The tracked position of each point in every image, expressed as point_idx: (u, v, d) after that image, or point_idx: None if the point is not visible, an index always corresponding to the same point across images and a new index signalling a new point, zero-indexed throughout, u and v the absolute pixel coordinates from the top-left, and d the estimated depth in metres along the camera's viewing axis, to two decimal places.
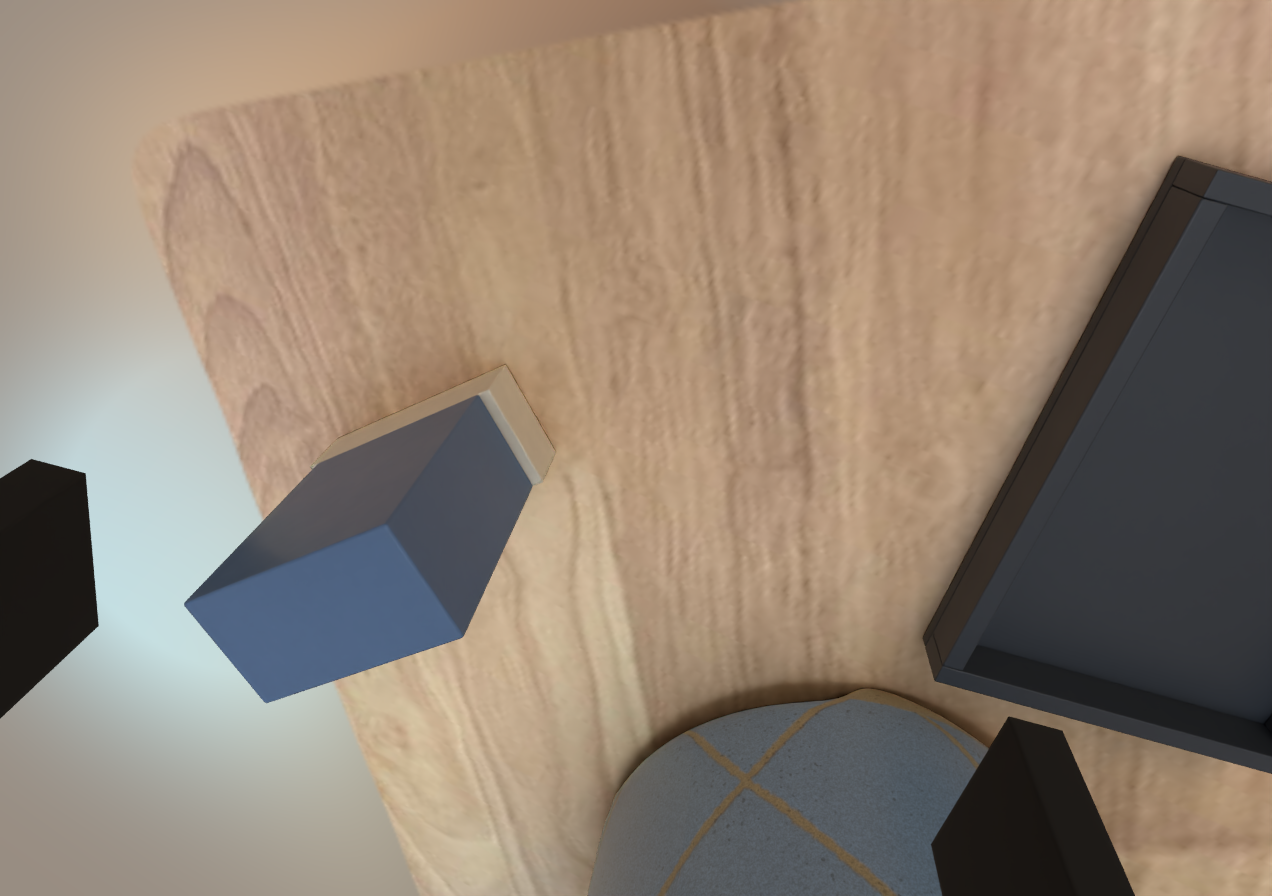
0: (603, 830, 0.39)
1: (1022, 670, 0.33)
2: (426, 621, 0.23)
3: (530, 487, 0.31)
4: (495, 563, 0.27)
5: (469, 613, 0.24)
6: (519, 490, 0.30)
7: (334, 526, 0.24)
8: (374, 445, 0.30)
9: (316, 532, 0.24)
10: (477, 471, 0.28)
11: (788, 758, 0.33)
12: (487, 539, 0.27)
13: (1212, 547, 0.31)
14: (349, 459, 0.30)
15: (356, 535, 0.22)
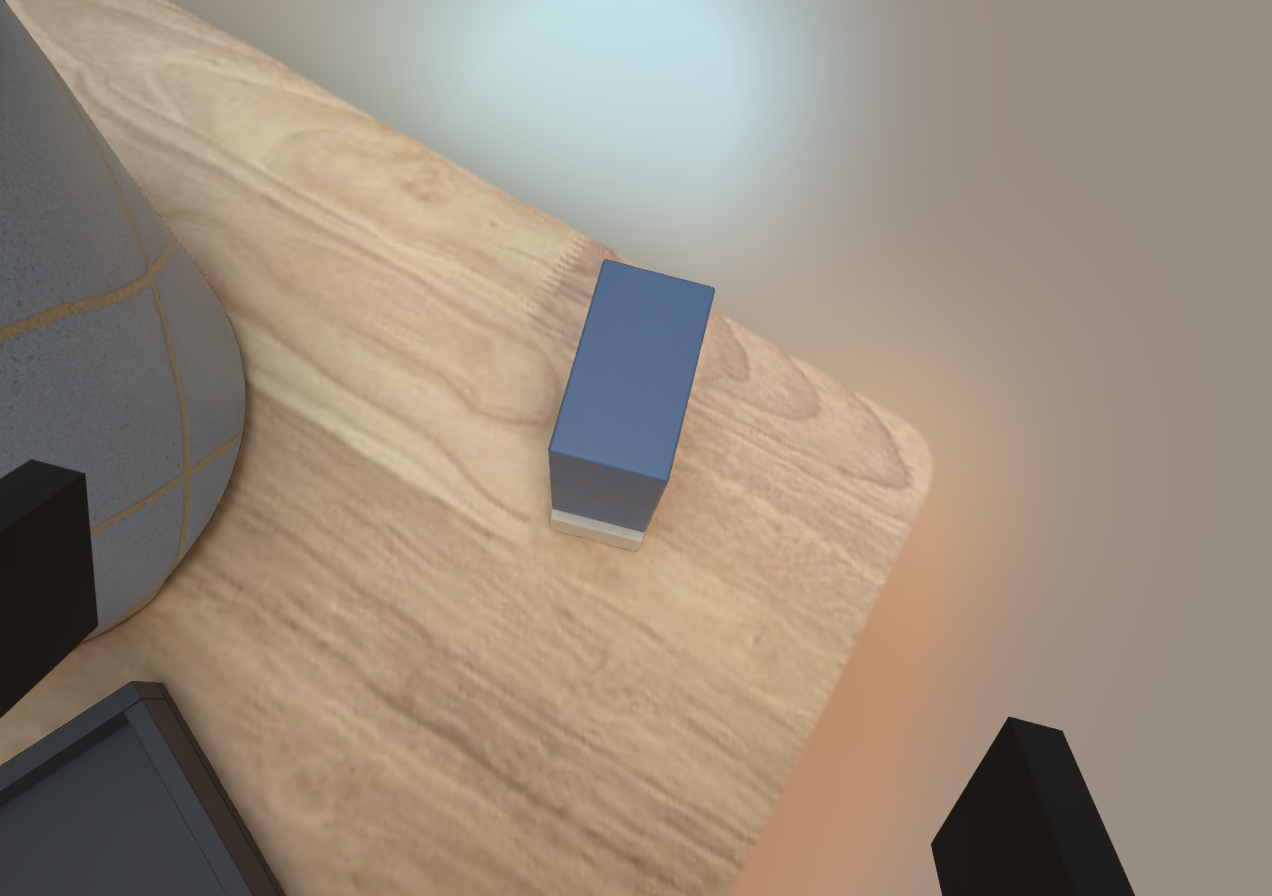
0: (210, 286, 0.37)
1: (69, 755, 0.32)
2: (580, 437, 0.27)
3: (554, 508, 0.35)
4: (552, 478, 0.31)
5: (554, 459, 0.28)
6: (563, 505, 0.34)
7: None
8: None
9: None
10: (610, 507, 0.33)
11: (172, 518, 0.32)
12: (571, 486, 0.31)
13: None
14: None
15: (674, 453, 0.28)
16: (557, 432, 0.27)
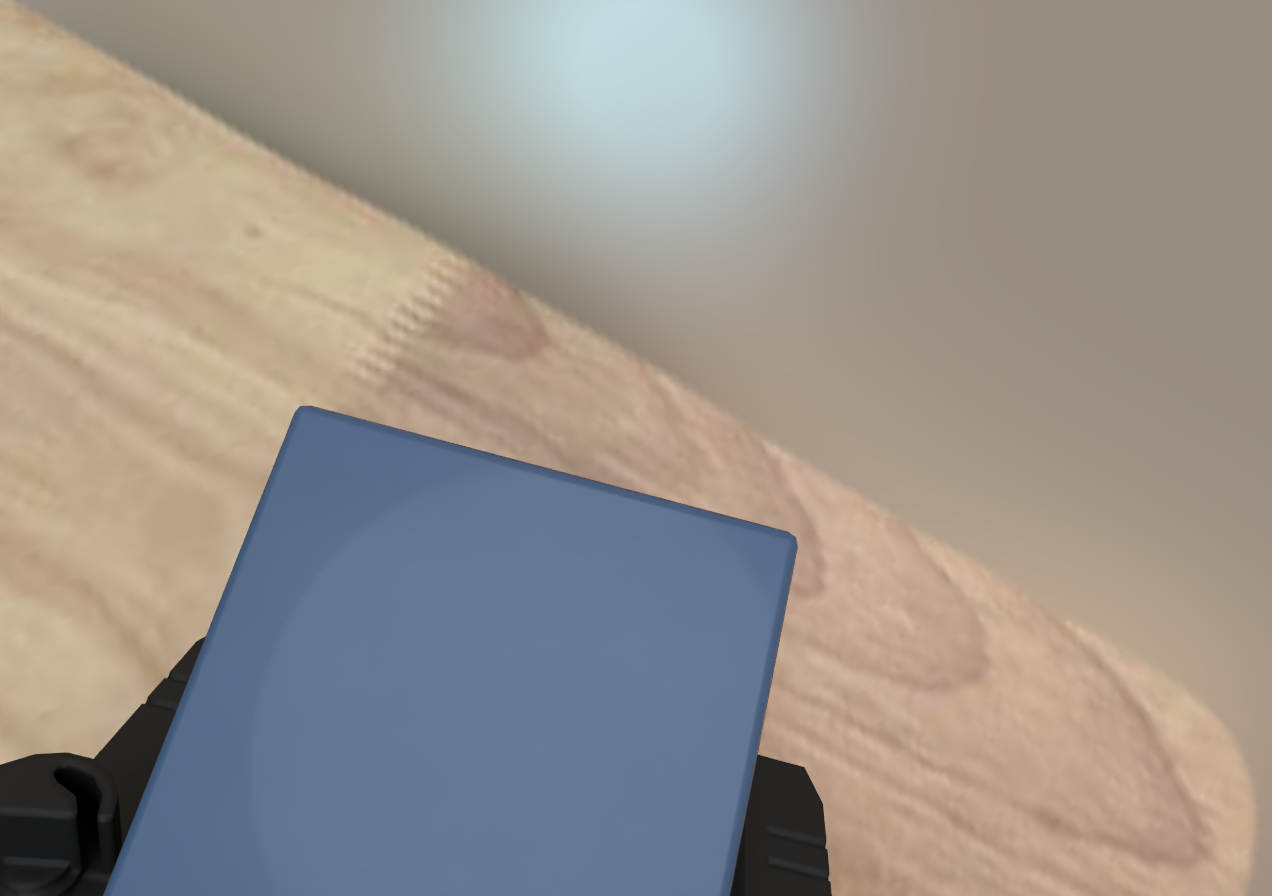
0: None
1: None
2: None
3: None
4: None
5: None
6: None
7: None
8: None
9: None
10: None
11: None
12: None
13: None
14: None
15: None
16: None
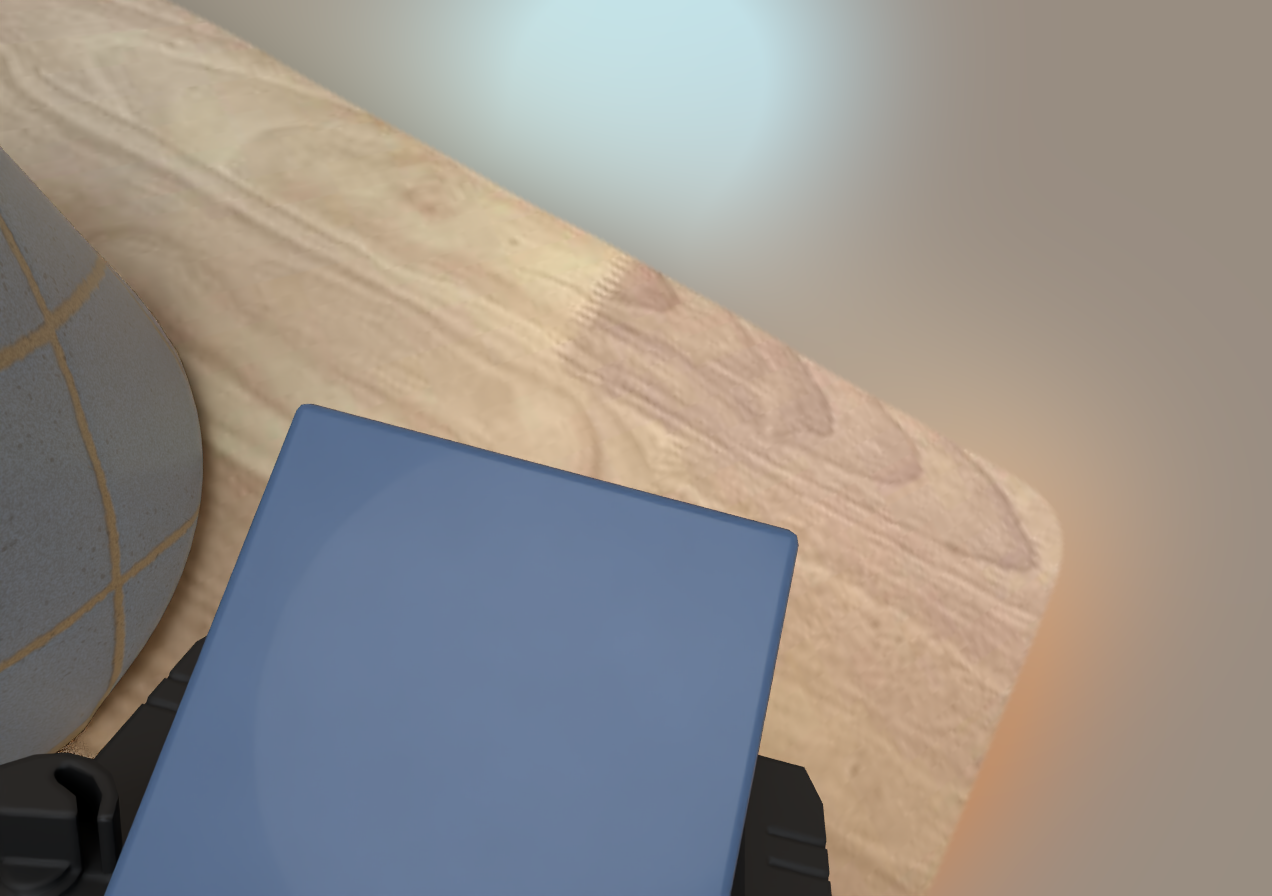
0: (157, 325, 0.29)
1: None
2: None
3: None
4: None
5: None
6: None
7: None
8: None
9: None
10: None
11: (99, 641, 0.24)
12: None
13: None
14: None
15: None
16: None
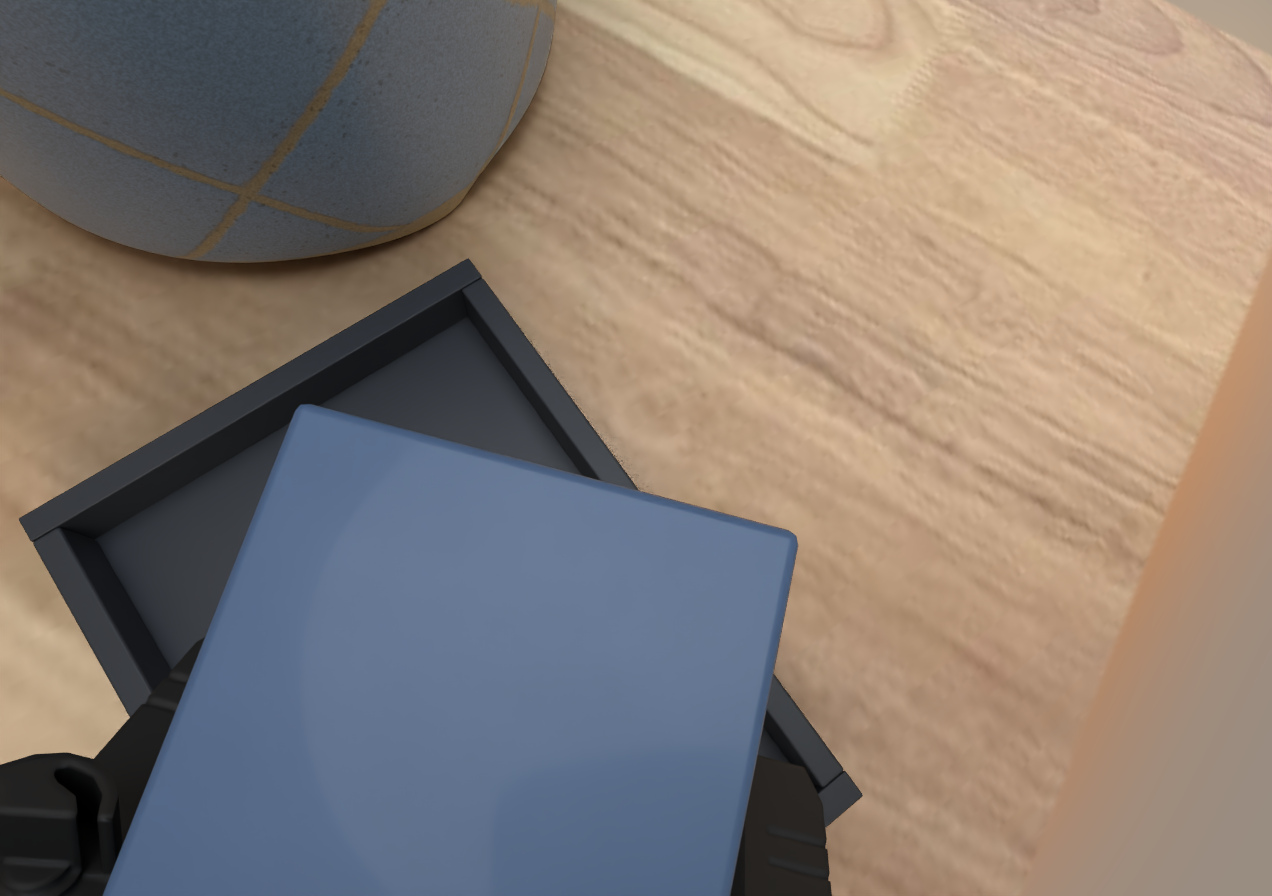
0: None
1: (391, 348, 0.27)
2: None
3: None
4: None
5: None
6: None
7: None
8: None
9: None
10: None
11: (519, 60, 0.27)
12: None
13: None
14: None
15: None
16: None
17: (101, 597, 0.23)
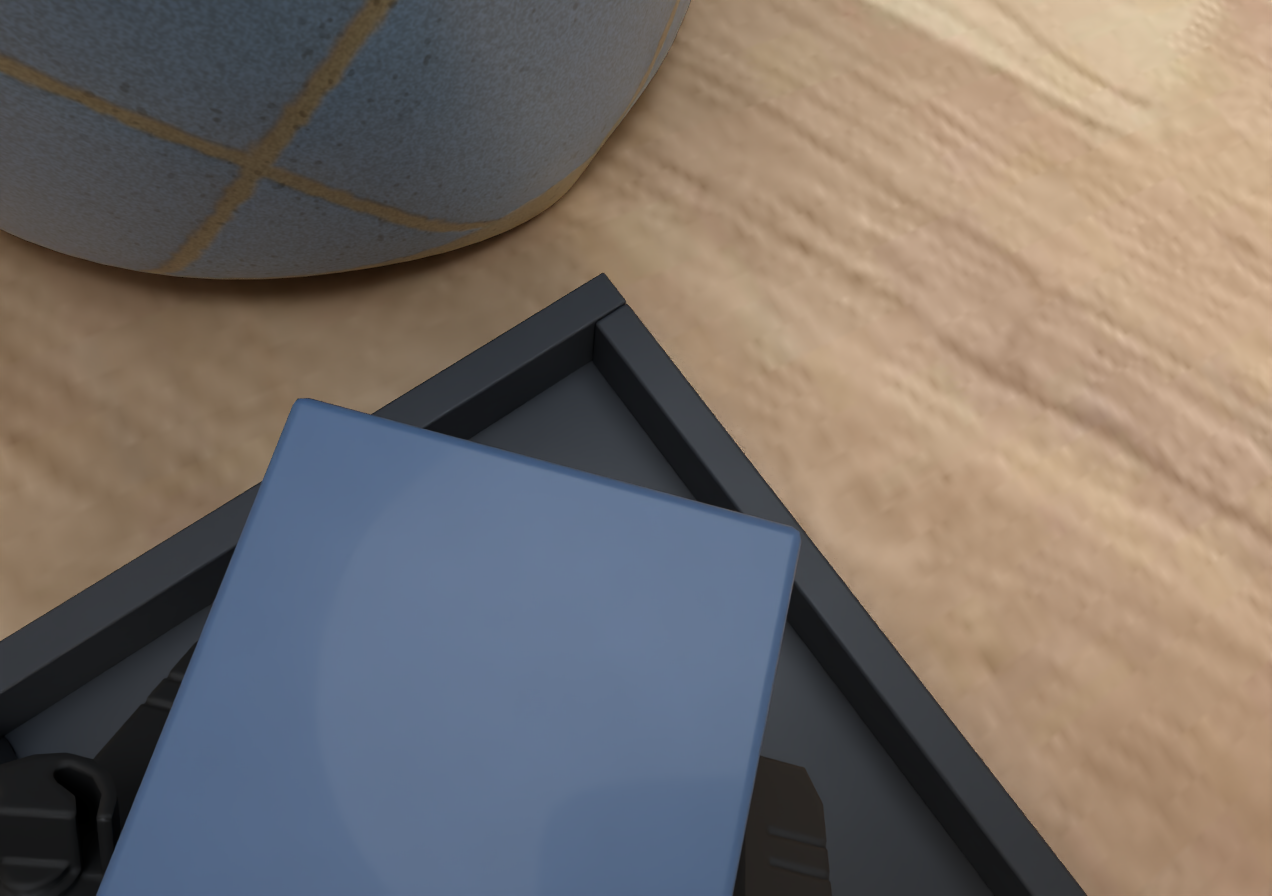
0: None
1: (482, 414, 0.17)
2: None
3: None
4: None
5: None
6: None
7: None
8: None
9: None
10: None
11: None
12: None
13: None
14: None
15: None
16: None
17: None
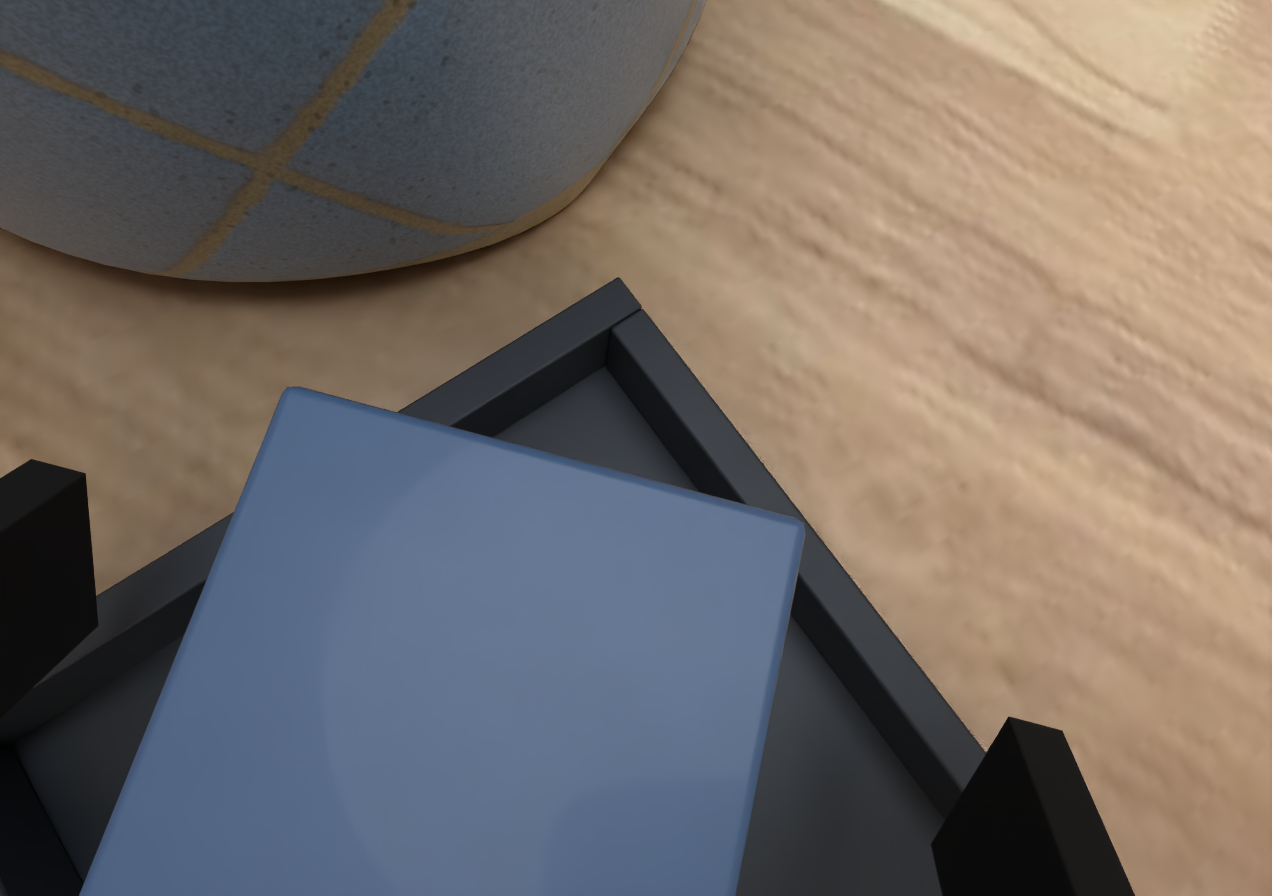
0: None
1: (495, 420, 0.17)
2: None
3: None
4: None
5: None
6: None
7: None
8: None
9: None
10: None
11: None
12: None
13: None
14: None
15: None
16: None
17: (7, 884, 0.13)
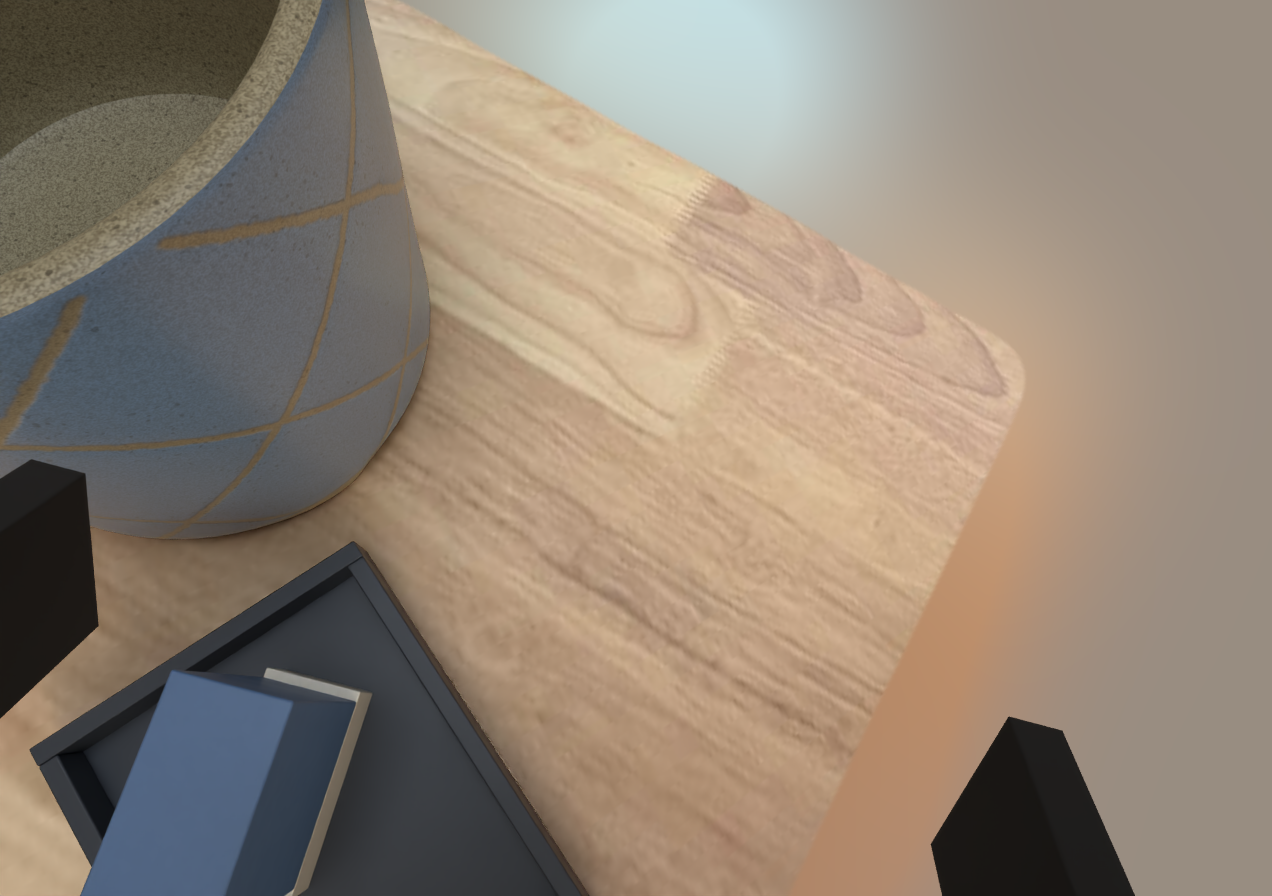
0: None
1: (298, 605, 0.37)
2: None
3: None
4: None
5: None
6: None
7: (250, 857, 0.27)
8: (325, 781, 0.33)
9: (260, 833, 0.27)
10: None
11: (389, 400, 0.37)
12: None
13: None
14: (330, 758, 0.33)
15: None
16: (84, 894, 0.25)
17: (86, 806, 0.34)
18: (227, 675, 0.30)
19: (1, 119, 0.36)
